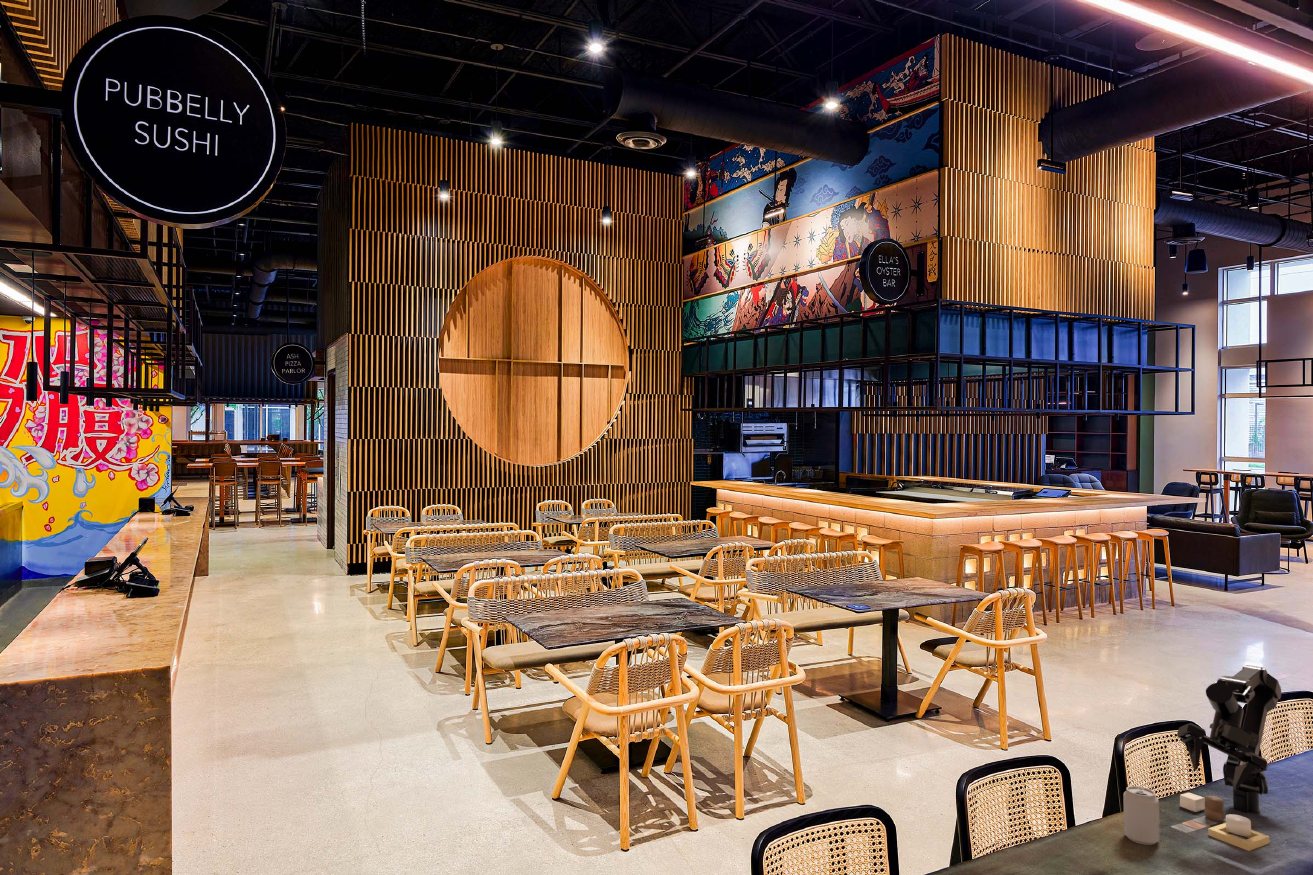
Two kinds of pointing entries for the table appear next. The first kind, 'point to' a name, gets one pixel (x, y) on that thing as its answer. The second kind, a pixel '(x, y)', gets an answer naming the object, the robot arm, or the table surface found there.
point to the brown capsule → (1214, 808)
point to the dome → (1238, 825)
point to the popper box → (1248, 844)
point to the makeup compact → (1194, 824)
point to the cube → (1192, 802)
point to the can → (1141, 815)
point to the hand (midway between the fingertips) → (1215, 779)
